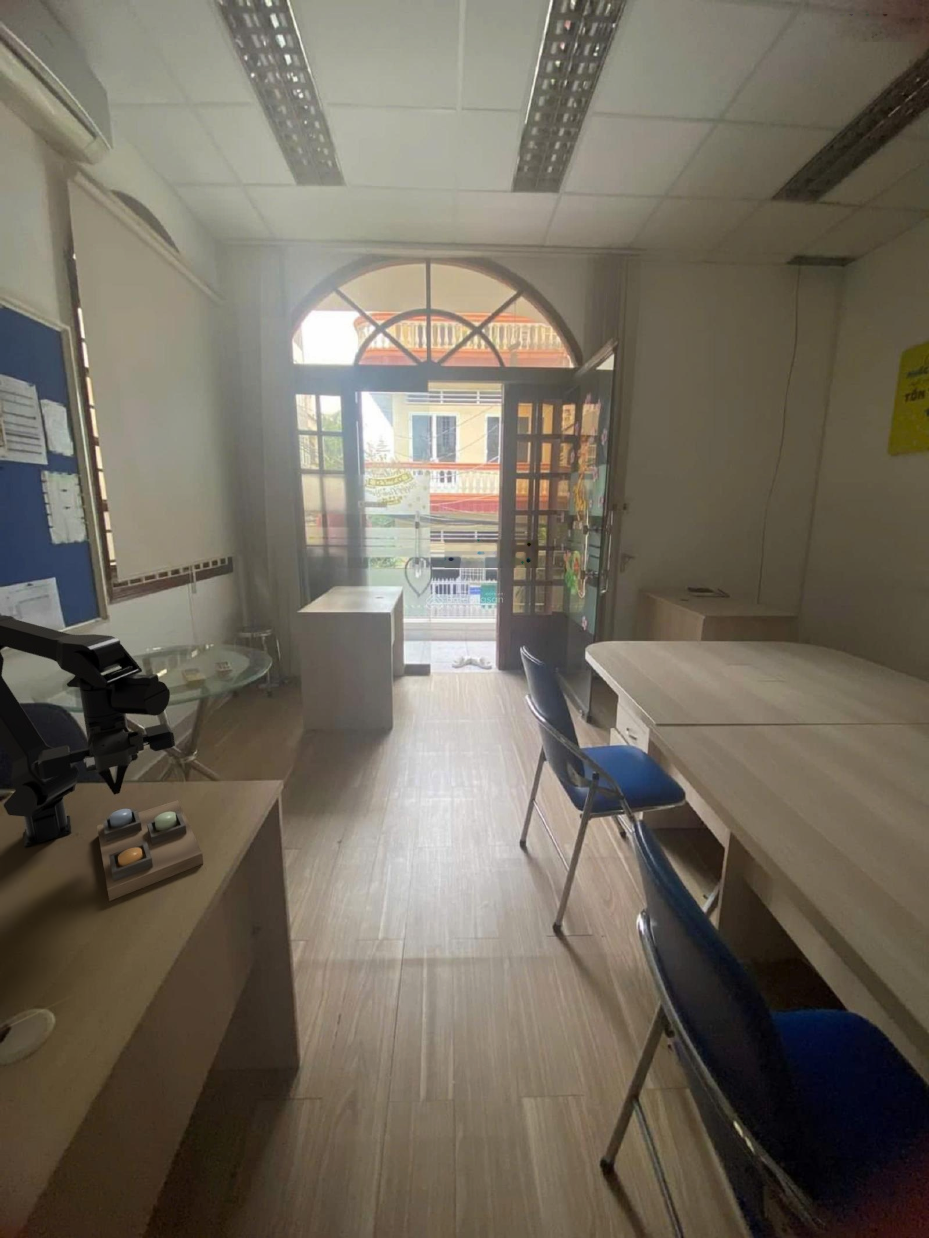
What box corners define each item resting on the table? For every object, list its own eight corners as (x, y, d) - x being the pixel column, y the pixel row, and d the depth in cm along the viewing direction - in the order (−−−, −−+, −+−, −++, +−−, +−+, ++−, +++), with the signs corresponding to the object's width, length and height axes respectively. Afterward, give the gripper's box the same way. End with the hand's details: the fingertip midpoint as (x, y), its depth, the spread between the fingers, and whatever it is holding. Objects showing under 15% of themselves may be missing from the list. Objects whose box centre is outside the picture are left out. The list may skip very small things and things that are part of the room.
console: (98, 835, 89) (95, 817, 88) (179, 808, 97) (177, 792, 97) (109, 901, 74) (106, 880, 74) (203, 863, 83) (201, 844, 82)
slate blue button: (109, 821, 88) (108, 813, 88) (131, 814, 90) (130, 806, 90) (111, 829, 86) (110, 821, 85) (133, 822, 88) (132, 814, 87)
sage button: (154, 824, 87) (153, 816, 87) (174, 817, 89) (173, 809, 89) (157, 833, 85) (156, 824, 84) (178, 825, 87) (177, 817, 87)
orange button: (118, 861, 79) (116, 852, 79) (141, 853, 81) (140, 844, 81) (120, 872, 77) (119, 863, 76) (144, 863, 79) (143, 854, 78)
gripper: (30, 743, 71) (48, 837, 75) (176, 712, 83) (185, 794, 86) (32, 718, 80) (48, 804, 83) (164, 693, 91) (173, 769, 95)
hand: (116, 793), depth 86 cm, fingers closed
